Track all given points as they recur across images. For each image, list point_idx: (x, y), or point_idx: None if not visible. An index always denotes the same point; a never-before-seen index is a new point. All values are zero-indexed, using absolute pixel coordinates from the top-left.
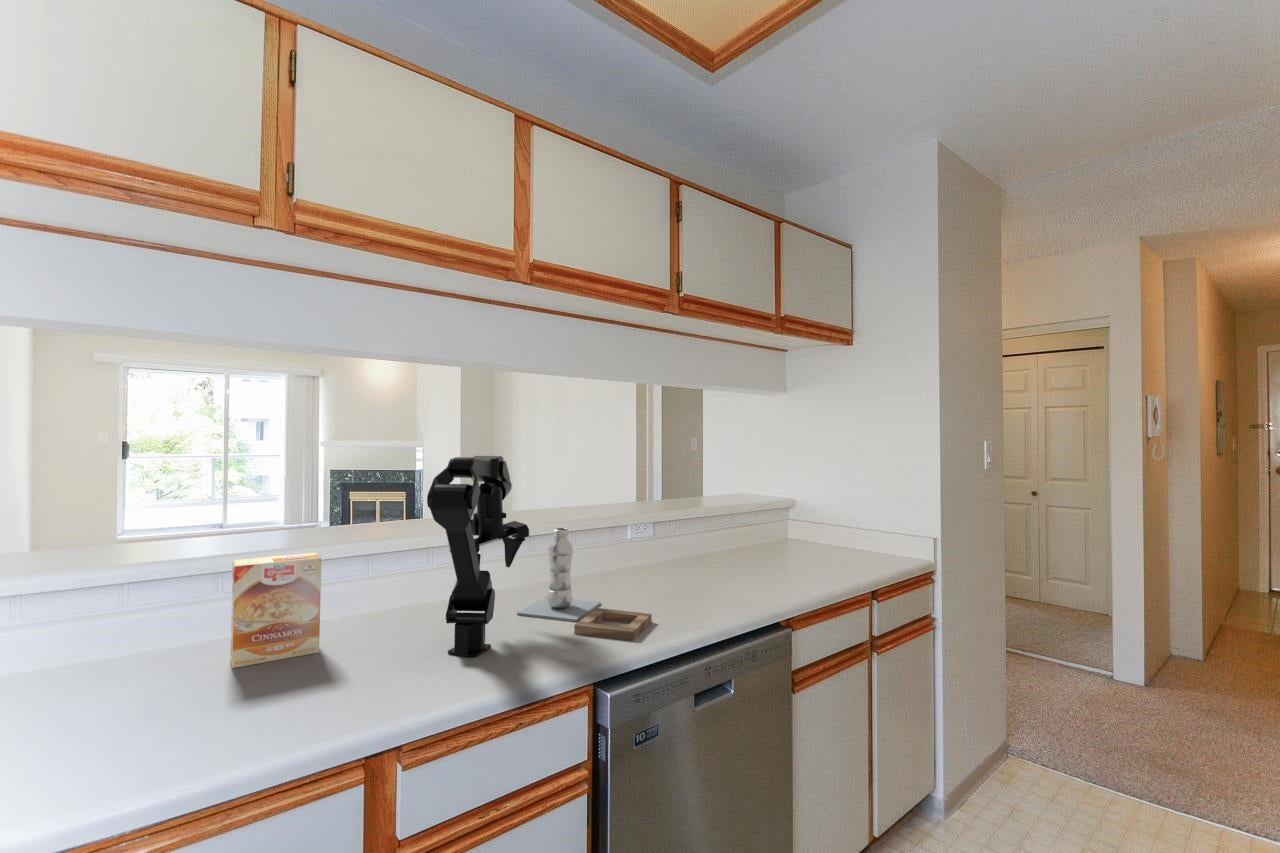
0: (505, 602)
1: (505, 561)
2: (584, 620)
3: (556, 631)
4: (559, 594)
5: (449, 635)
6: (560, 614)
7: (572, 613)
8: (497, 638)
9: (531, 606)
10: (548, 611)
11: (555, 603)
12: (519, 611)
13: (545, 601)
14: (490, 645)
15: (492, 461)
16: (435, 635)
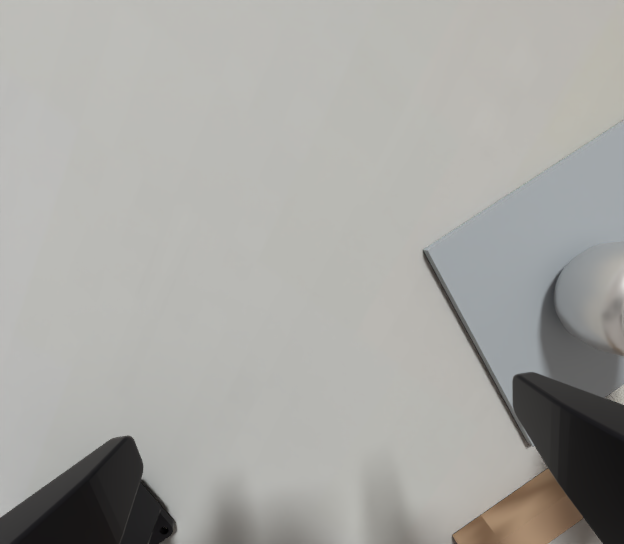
0: (484, 42)
1: (551, 408)
2: (520, 540)
3: (425, 487)
4: (619, 351)
5: (93, 324)
6: (530, 368)
7: (565, 382)
8: (235, 451)
9: (515, 209)
10: (522, 311)
11: (569, 328)
12: (444, 241)
13: (594, 181)
14: (167, 537)
15: None
16: (41, 291)
